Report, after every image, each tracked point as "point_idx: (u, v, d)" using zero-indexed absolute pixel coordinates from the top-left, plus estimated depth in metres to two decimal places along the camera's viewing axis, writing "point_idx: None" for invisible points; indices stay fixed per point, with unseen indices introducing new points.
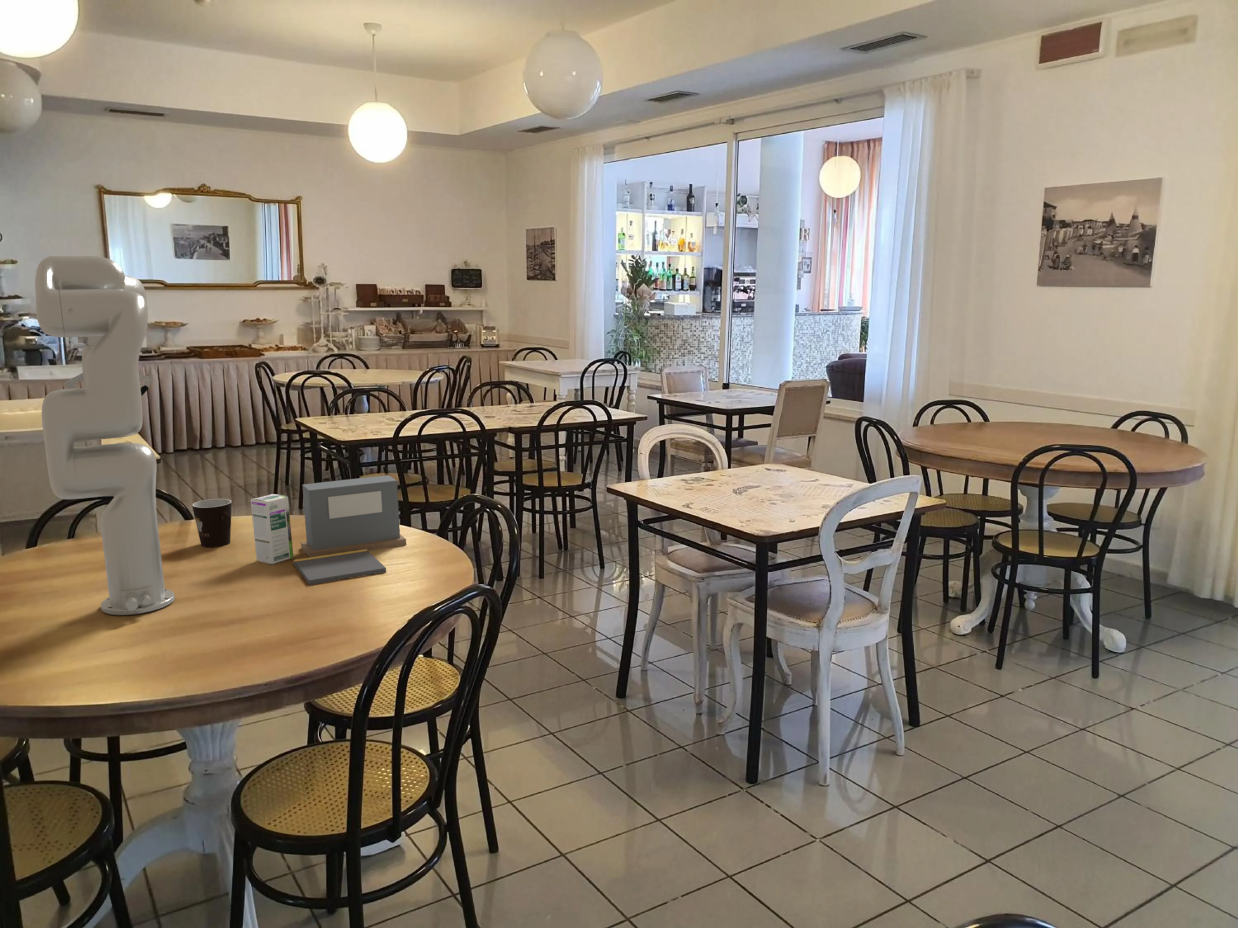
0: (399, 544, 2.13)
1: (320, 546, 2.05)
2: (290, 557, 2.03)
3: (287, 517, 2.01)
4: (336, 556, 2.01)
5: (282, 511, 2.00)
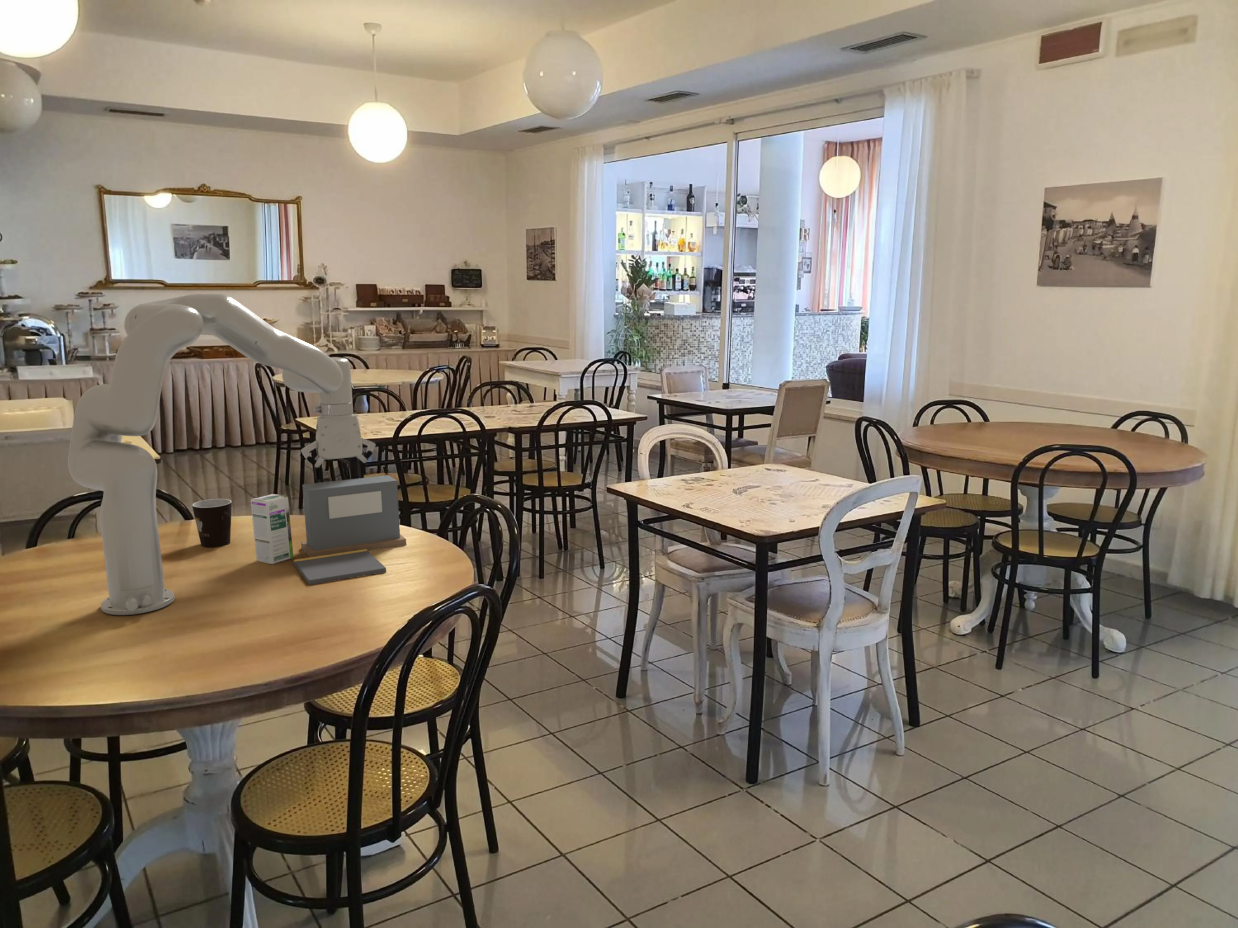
0: (399, 544, 2.13)
1: (320, 546, 2.05)
2: (290, 557, 2.03)
3: (287, 517, 2.01)
4: (336, 556, 2.01)
5: (282, 511, 2.00)
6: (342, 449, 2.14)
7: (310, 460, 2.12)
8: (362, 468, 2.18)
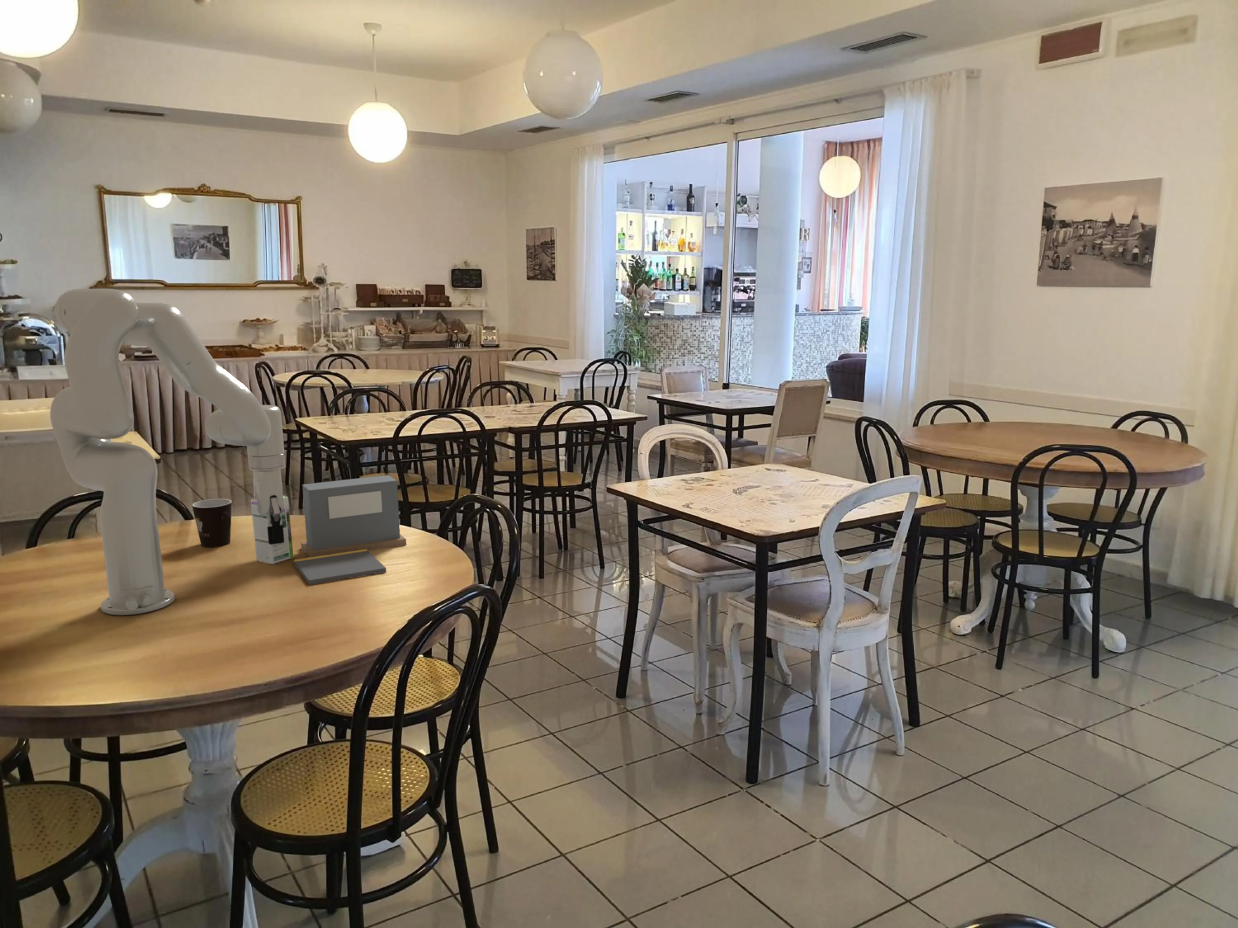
0: (399, 544, 2.13)
1: (320, 546, 2.05)
2: (290, 557, 2.03)
3: (287, 517, 2.01)
4: (336, 556, 2.01)
5: None
6: None
7: None
8: None
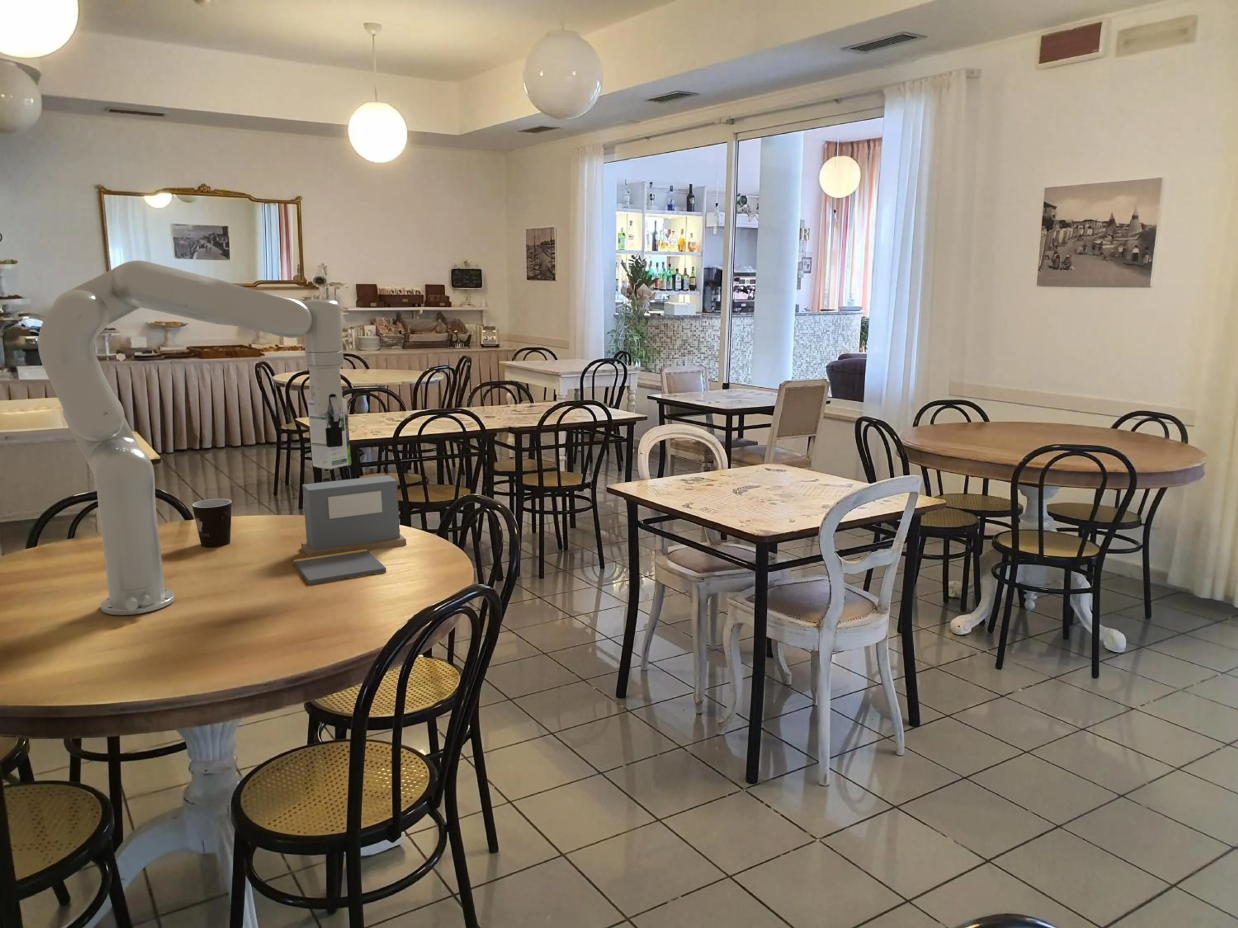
0: (399, 544, 2.13)
1: (320, 546, 2.05)
2: (348, 463, 1.92)
3: (345, 420, 1.90)
4: (336, 556, 2.01)
5: (341, 413, 1.89)
6: None
7: None
8: (326, 434, 1.86)
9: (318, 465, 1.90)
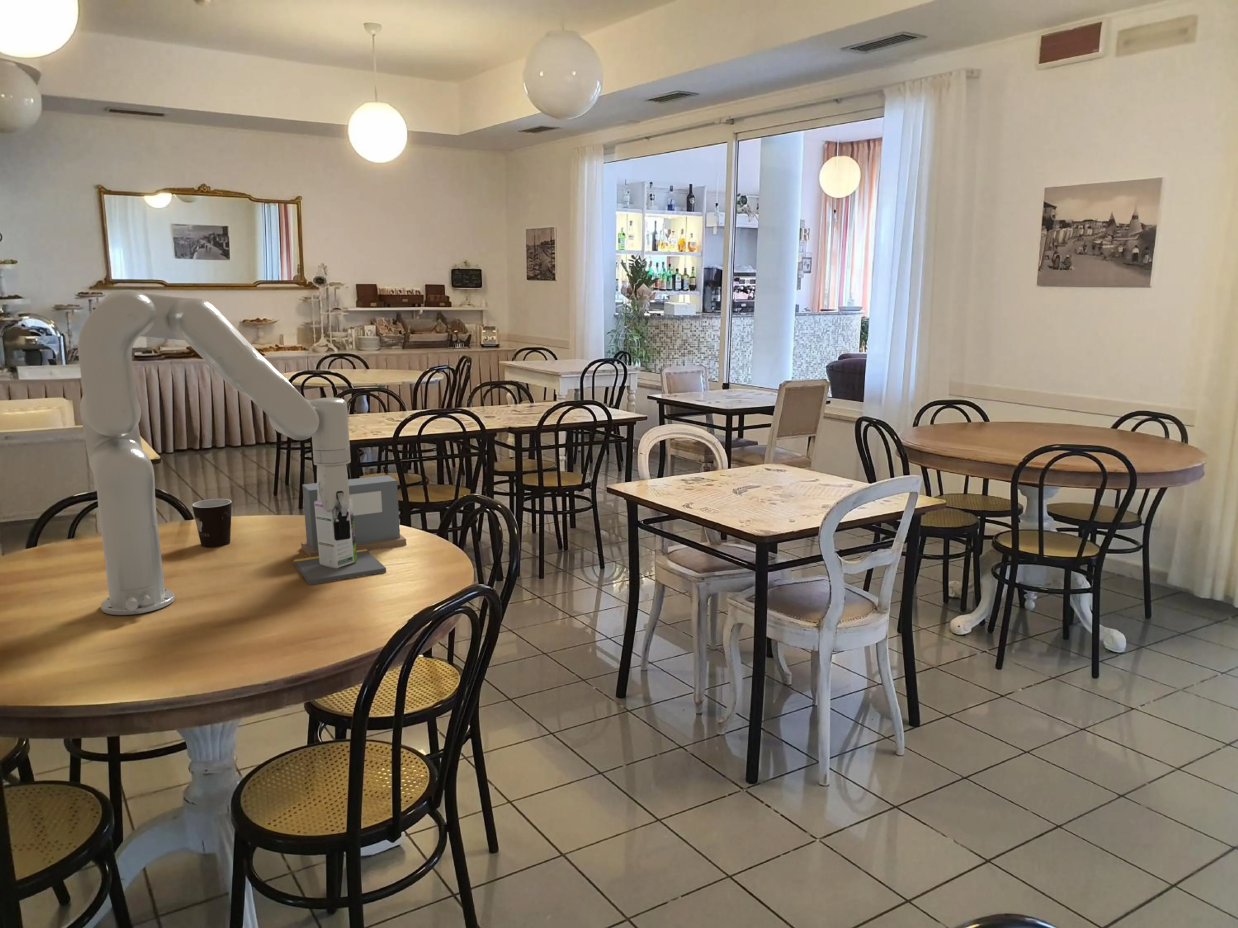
0: (399, 544, 2.13)
1: None
2: (354, 561, 1.97)
3: (351, 519, 1.95)
4: None
5: None
6: (321, 499, 1.92)
7: None
8: (334, 528, 1.90)
9: (325, 564, 1.95)
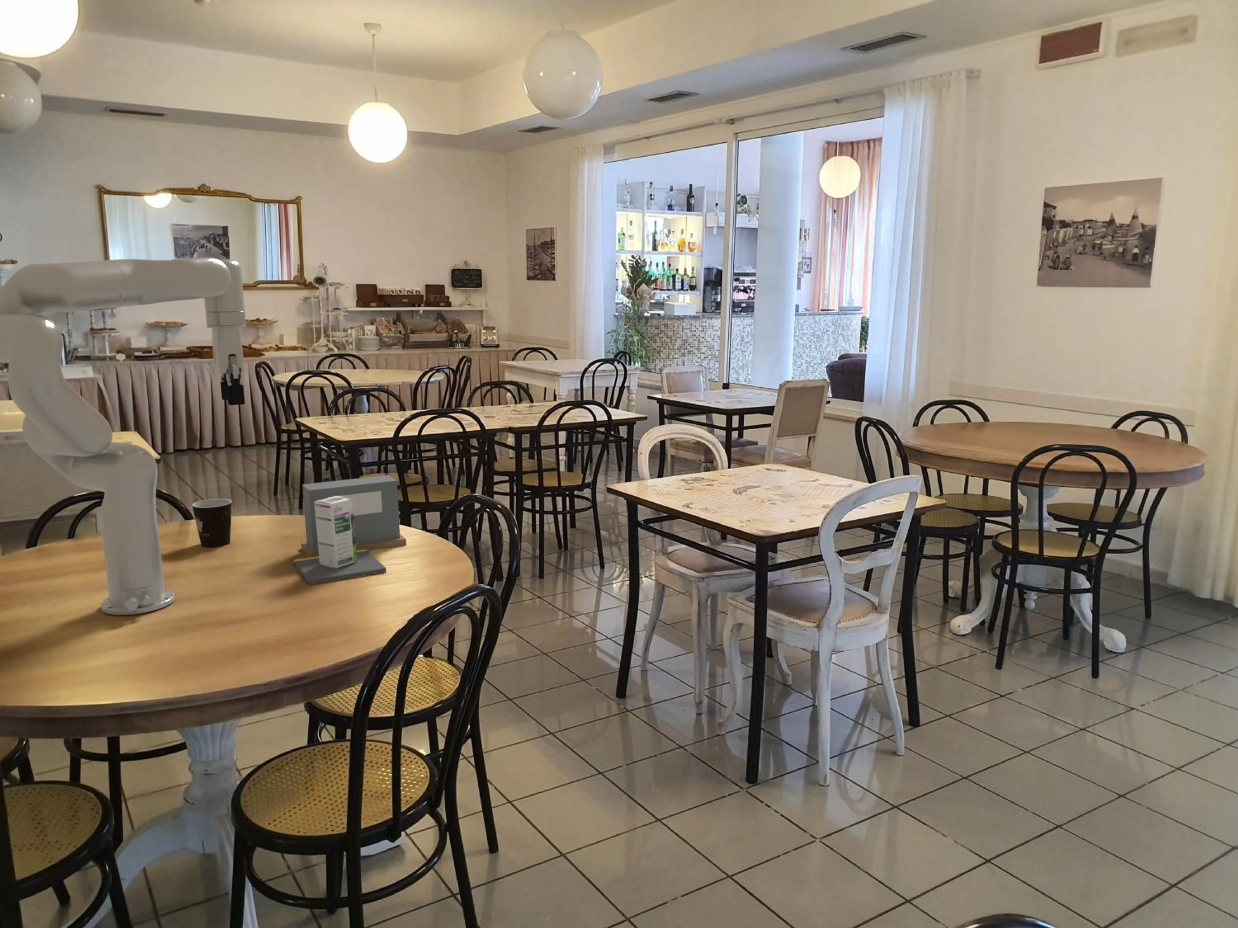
0: (399, 544, 2.13)
1: None
2: (354, 561, 1.97)
3: (351, 520, 1.95)
4: None
5: (346, 513, 1.94)
6: (215, 365, 1.88)
7: None
8: (227, 392, 1.86)
9: (325, 564, 1.95)
